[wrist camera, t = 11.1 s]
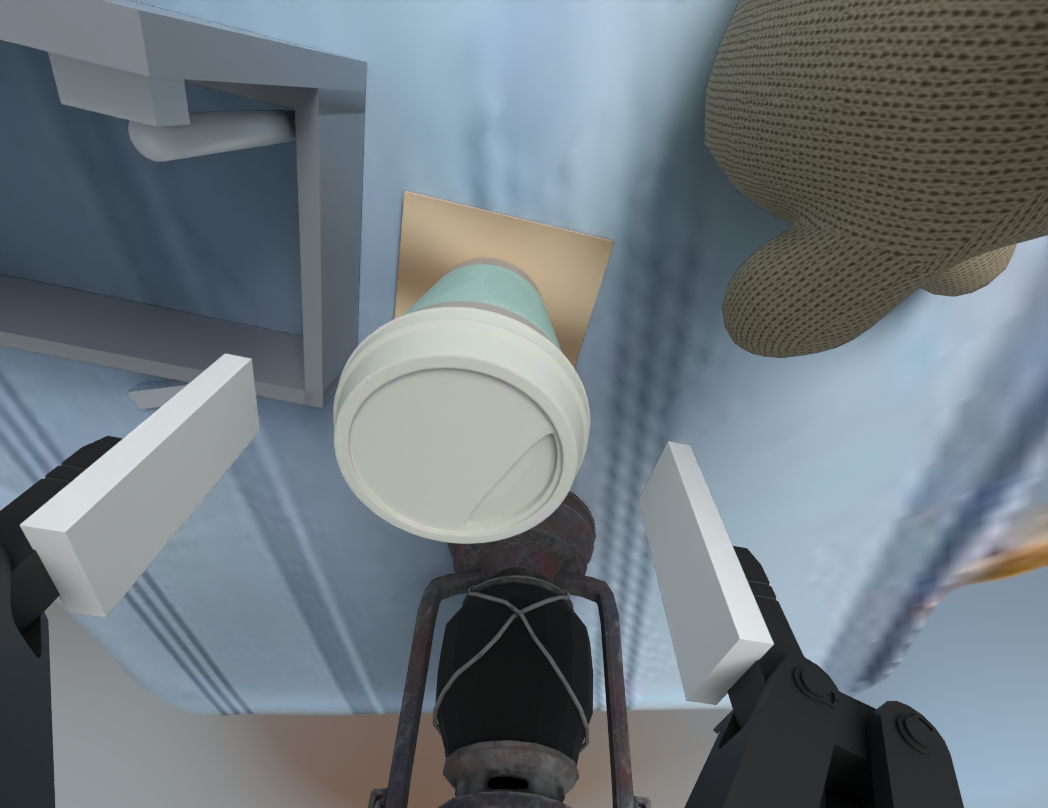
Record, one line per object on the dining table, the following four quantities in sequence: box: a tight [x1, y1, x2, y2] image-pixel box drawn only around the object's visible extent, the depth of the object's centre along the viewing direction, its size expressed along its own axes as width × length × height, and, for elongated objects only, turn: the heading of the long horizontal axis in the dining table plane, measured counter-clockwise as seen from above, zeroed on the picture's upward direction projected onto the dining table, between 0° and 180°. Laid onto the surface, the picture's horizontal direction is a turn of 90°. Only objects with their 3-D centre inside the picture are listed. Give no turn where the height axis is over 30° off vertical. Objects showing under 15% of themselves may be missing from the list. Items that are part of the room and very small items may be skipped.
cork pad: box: [395, 191, 614, 368], centre depth 25 cm, size 10×10×1 cm
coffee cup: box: [333, 258, 590, 544], centre depth 19 cm, size 9×8×12 cm
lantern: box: [368, 491, 651, 808], centre depth 21 cm, size 12×11×30 cm
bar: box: [126, 380, 189, 409], centre depth 28 cm, size 10×1×1 cm, turn 98°
